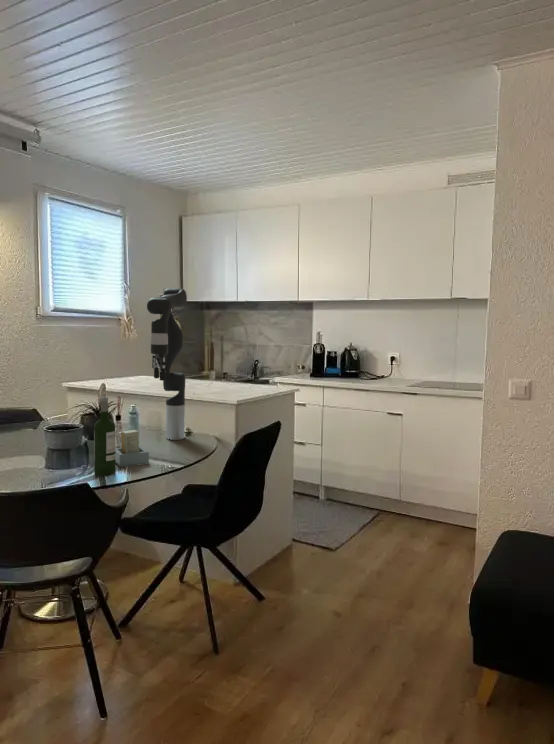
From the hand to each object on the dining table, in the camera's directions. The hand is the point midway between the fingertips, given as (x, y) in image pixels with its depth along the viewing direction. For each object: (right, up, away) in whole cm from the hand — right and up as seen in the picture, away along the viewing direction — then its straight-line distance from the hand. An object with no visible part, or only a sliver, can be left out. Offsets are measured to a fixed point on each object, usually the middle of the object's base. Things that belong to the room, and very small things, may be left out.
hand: (159, 379), depth 242 cm
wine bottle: (-14, -37, -31) cm, 50 cm away
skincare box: (-9, -34, -15) cm, 38 cm away
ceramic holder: (-9, -35, -15) cm, 39 cm away
